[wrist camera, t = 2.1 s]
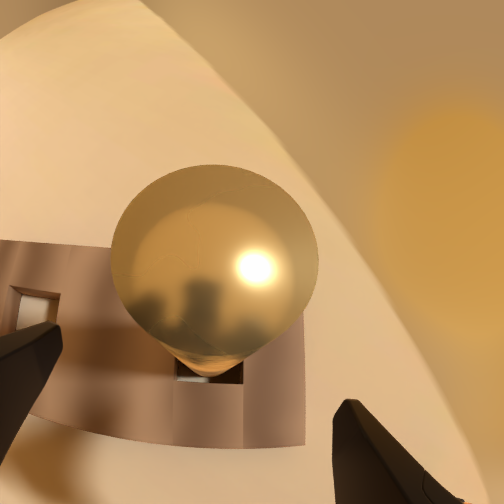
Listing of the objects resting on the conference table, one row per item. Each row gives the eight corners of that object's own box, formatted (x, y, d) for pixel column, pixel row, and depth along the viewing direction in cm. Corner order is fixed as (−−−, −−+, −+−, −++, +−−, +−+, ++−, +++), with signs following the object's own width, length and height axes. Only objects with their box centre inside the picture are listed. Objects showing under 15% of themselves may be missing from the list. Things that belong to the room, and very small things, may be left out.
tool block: (292, 271, 22) (300, 260, 20) (295, 439, 16) (305, 445, 15) (6, 249, 19) (-6, 239, 17) (-17, 389, 13) (-32, 387, 12)
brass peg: (215, 386, 17) (243, 402, 4) (174, 357, 18) (72, 263, 4) (243, 347, 19) (349, 231, 5) (203, 319, 19) (199, 139, 5)
